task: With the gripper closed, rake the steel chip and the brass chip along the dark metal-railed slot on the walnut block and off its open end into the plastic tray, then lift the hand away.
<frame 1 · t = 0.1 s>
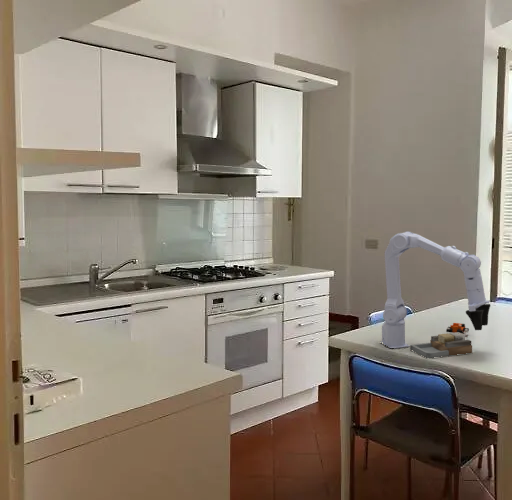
hand: (481, 327, 196), 11 cm above the table, tool pointing down, fingers open, 7 cm apart
tray: (429, 353, 204), on the table
chip b: (446, 343, 205), point 3 cm above the table, touching slot block
toy: (457, 336, 227), on the table
slot block: (450, 350, 206), on the table
chip a: (456, 341, 206), point 3 cm above the table, touching slot block
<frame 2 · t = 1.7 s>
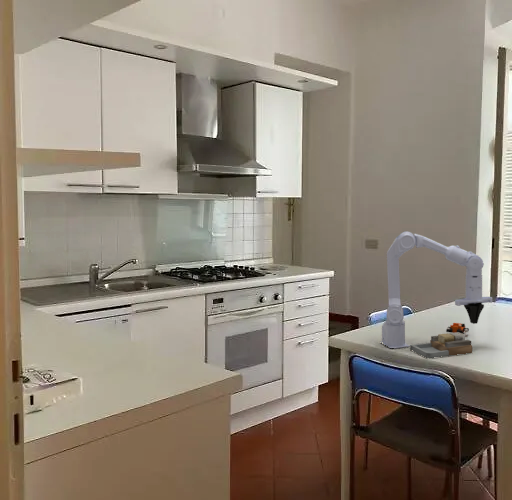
hand: (473, 323, 208), 9 cm above the table, tool pointing down, fingers closed
nothing on the table moved.
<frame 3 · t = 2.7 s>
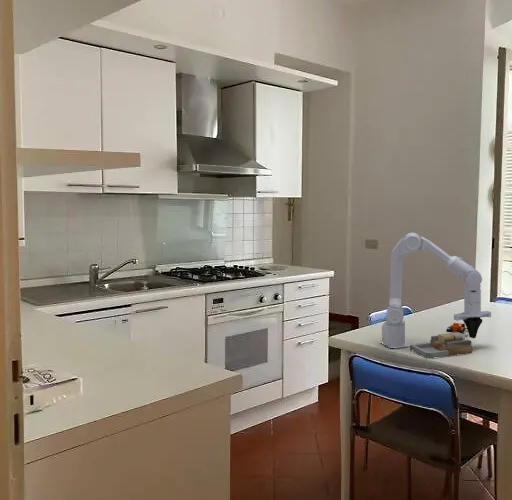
hand: (472, 337, 208), 4 cm above the table, tool pointing down, fingers closed
nothing on the table moved.
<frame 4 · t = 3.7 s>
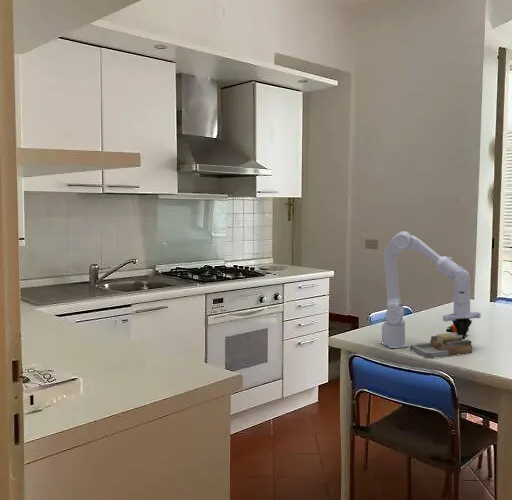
hand: (461, 338, 207), 4 cm above the table, tool pointing down, fingers closed
chip b: (444, 343, 205), point 3 cm above the table, touching chip a
chip a: (454, 342, 206), point 3 cm above the table, touching chip b, gripper
everything else where it was.
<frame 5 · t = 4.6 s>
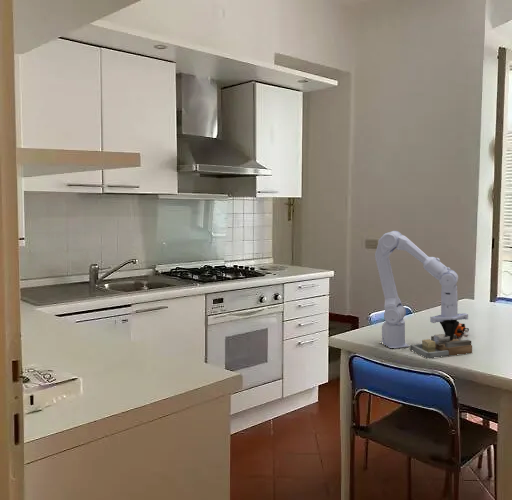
hand: (449, 340, 206), 4 cm above the table, tool pointing down, fingers closed
chip b: (432, 345, 204), point 3 cm above the table, tilted 90°, touching tray
chip a: (441, 343, 205), point 3 cm above the table, touching gripper
everything else where it was.
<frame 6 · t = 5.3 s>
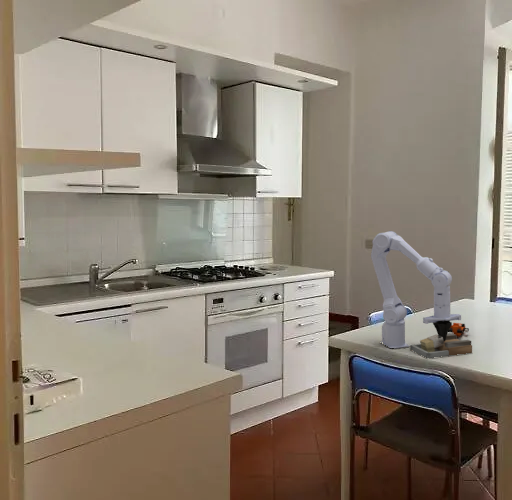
hand: (442, 340, 205), 4 cm above the table, tool pointing down, fingers closed
chip b: (431, 344, 204), point 3 cm above the table, tilted 101°, touching chip a, tray
chip a: (436, 344, 204), point 3 cm above the table, tilted 11°, touching chip b, gripper
everything else where it was.
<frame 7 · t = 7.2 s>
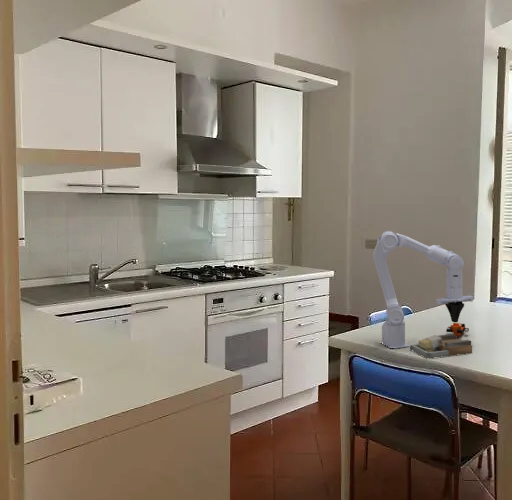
hand: (454, 321, 210), 9 cm above the table, tool pointing down, fingers closed
chip a: (434, 345, 204), point 3 cm above the table, tilted 10°, touching chip b, slot block
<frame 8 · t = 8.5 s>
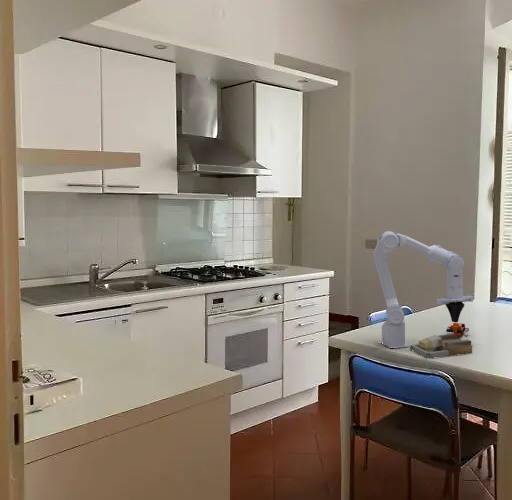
hand: (454, 321, 211), 9 cm above the table, tool pointing down, fingers closed
nothing on the table moved.
at the end: chip a inside the target area (2.1 cm from its centre), point 2.6 cm above the table; chip b inside the target area (0.1 cm from its centre), point 3.1 cm above the table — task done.
